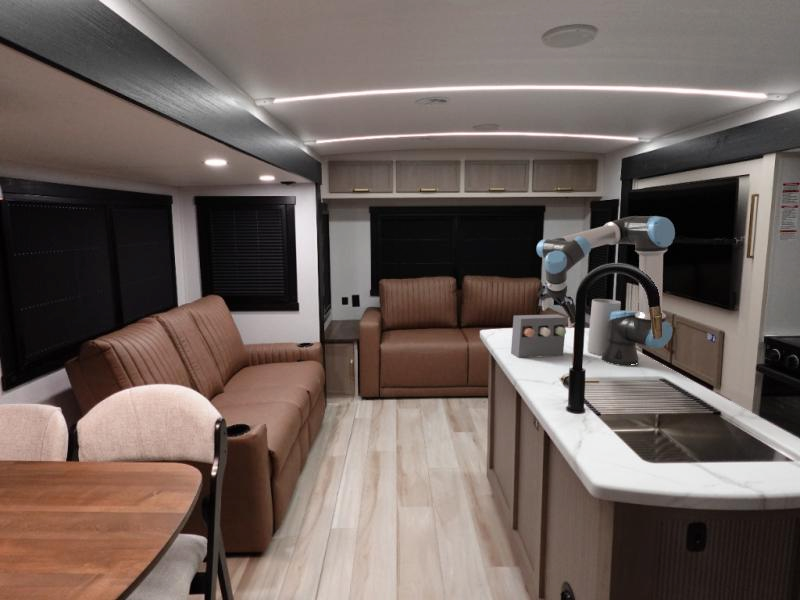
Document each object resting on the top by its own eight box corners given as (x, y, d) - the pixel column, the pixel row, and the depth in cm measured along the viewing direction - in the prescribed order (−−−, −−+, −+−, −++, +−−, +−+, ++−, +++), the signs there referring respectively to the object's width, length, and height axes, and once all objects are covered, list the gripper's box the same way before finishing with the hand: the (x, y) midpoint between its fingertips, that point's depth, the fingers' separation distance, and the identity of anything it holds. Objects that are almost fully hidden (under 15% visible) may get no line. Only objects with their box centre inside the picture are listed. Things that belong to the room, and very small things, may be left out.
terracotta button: (529, 335, 223) (530, 326, 222) (534, 337, 219) (534, 328, 219) (522, 335, 222) (522, 327, 221) (526, 337, 218) (527, 329, 218)
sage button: (560, 333, 227) (561, 325, 227) (565, 335, 224) (566, 327, 223) (553, 334, 226) (554, 326, 226) (558, 336, 223) (559, 327, 222)
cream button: (545, 334, 225) (545, 326, 225) (550, 336, 221) (550, 328, 221) (537, 334, 224) (538, 326, 224) (542, 336, 220) (543, 328, 220)
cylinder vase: (612, 357, 227) (618, 304, 222) (584, 353, 234) (589, 301, 229) (617, 352, 237) (623, 301, 233) (590, 347, 244) (595, 298, 240)
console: (554, 351, 235) (557, 314, 232) (563, 355, 229) (566, 317, 226) (511, 353, 229) (513, 315, 226) (518, 357, 222) (521, 318, 219)
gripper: (525, 274, 195) (529, 307, 211) (576, 307, 180) (576, 339, 196) (538, 263, 197) (541, 296, 213) (590, 294, 181) (589, 327, 197)
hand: (558, 317), depth 204 cm, fingers open, 13 cm apart
